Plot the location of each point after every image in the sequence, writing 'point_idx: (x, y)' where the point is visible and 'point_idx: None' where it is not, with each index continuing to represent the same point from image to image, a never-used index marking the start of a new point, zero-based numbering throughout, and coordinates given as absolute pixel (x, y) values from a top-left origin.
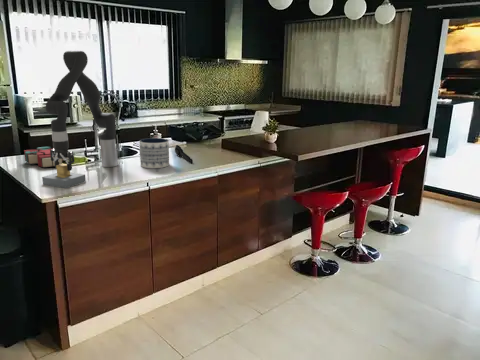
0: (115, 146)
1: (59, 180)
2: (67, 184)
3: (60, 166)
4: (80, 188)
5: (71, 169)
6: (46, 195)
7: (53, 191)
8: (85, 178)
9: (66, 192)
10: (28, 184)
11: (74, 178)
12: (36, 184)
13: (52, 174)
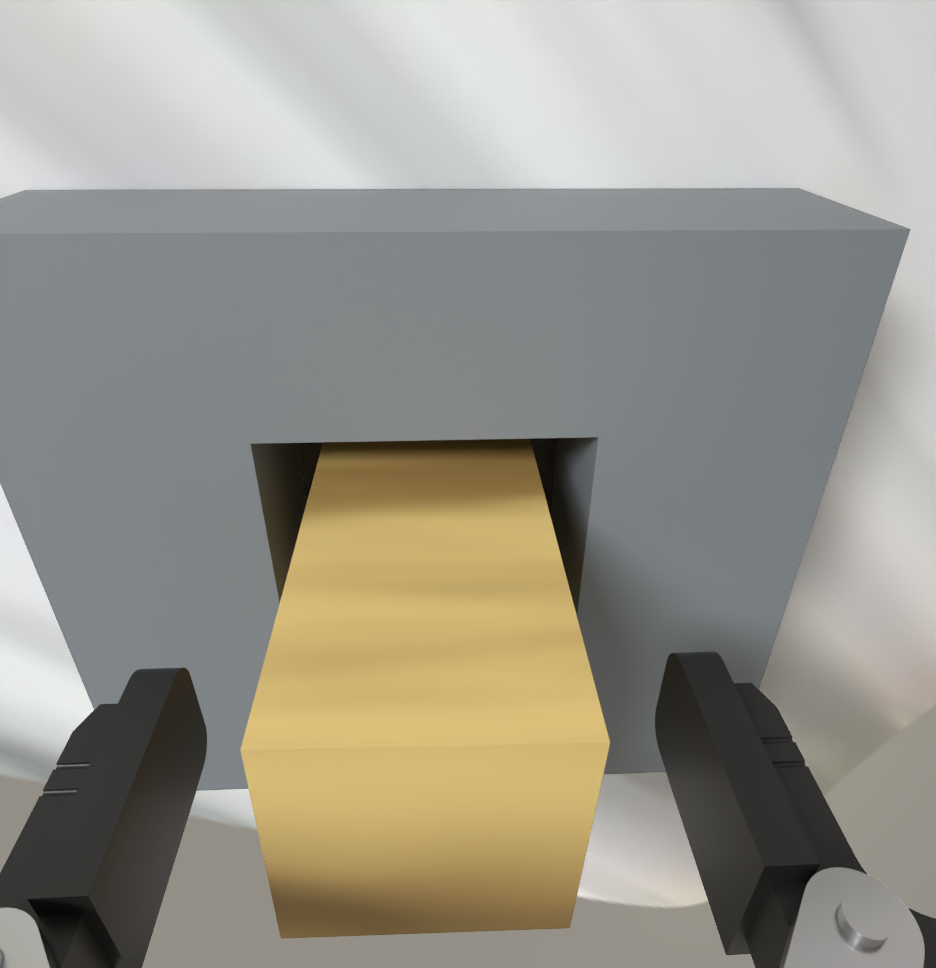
0: None
1: None
2: None
3: (481, 913)
4: (927, 575)
5: (719, 664)
6: (658, 876)
7: (624, 788)
8: (842, 208)
9: (819, 752)
10: (2, 754)
11: (785, 578)
12: None
13: (82, 614)
